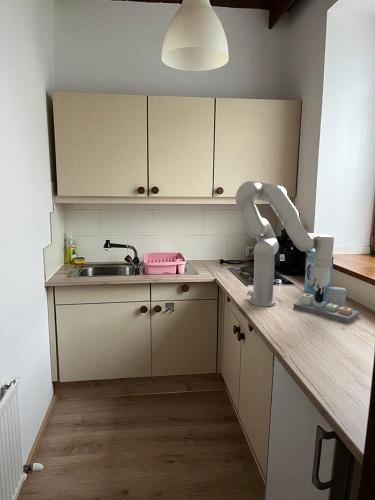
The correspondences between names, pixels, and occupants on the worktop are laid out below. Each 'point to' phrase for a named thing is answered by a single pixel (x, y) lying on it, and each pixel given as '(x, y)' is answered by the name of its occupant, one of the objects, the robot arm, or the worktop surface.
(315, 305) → the key
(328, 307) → the key
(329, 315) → the keypad board
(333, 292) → the medicine box
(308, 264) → the gum box
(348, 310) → the peach cube
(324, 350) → the worktop surface
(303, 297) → the key
